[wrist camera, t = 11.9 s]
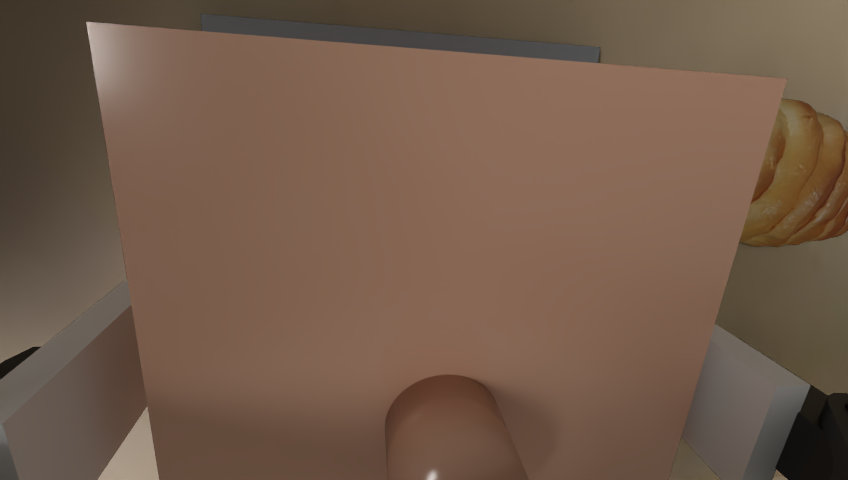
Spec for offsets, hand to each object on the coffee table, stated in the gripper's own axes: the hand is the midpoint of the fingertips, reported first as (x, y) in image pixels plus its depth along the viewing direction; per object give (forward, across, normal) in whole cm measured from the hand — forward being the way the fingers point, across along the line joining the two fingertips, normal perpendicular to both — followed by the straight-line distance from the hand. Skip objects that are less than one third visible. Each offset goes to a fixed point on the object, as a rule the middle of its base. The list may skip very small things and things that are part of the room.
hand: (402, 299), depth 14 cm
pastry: (+7, +18, +4) cm, 20 cm away
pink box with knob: (+6, +1, 0) cm, 6 cm away
